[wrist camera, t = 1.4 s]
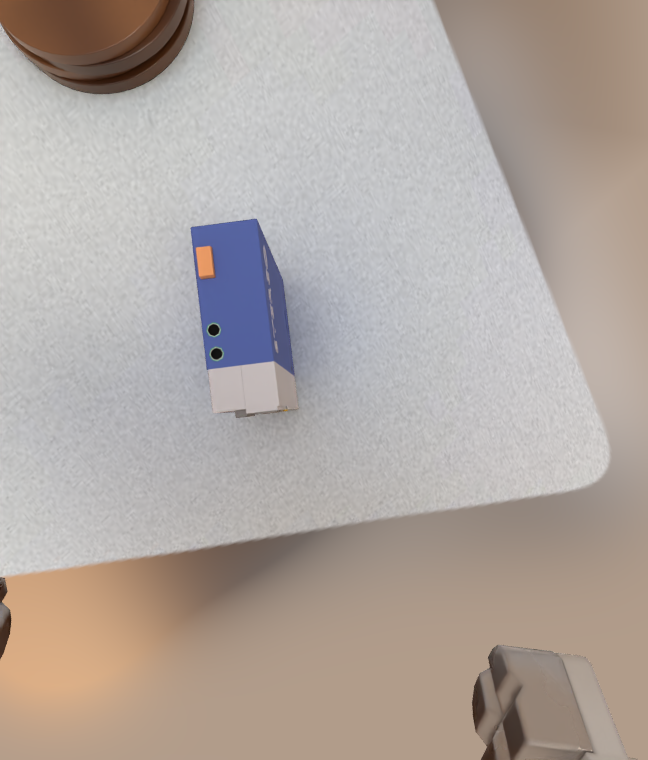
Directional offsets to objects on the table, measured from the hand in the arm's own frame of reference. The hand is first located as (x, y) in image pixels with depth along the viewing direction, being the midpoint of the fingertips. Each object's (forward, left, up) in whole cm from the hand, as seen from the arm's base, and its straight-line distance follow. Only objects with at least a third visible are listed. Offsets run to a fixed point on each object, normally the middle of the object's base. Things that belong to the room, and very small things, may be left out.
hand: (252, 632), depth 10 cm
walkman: (0, -8, -26) cm, 27 cm away
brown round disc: (+3, -31, -25) cm, 40 cm away
